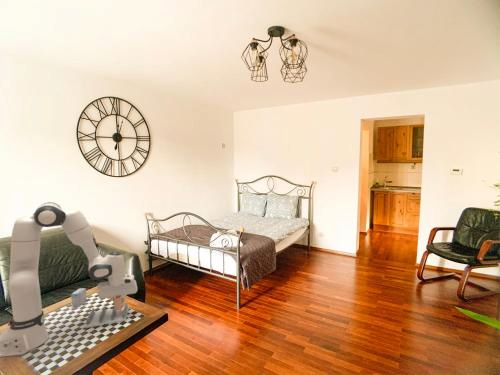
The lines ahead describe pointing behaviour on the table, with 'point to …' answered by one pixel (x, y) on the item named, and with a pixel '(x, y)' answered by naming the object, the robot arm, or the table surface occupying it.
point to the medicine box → (78, 297)
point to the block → (118, 302)
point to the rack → (107, 316)
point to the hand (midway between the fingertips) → (119, 302)
